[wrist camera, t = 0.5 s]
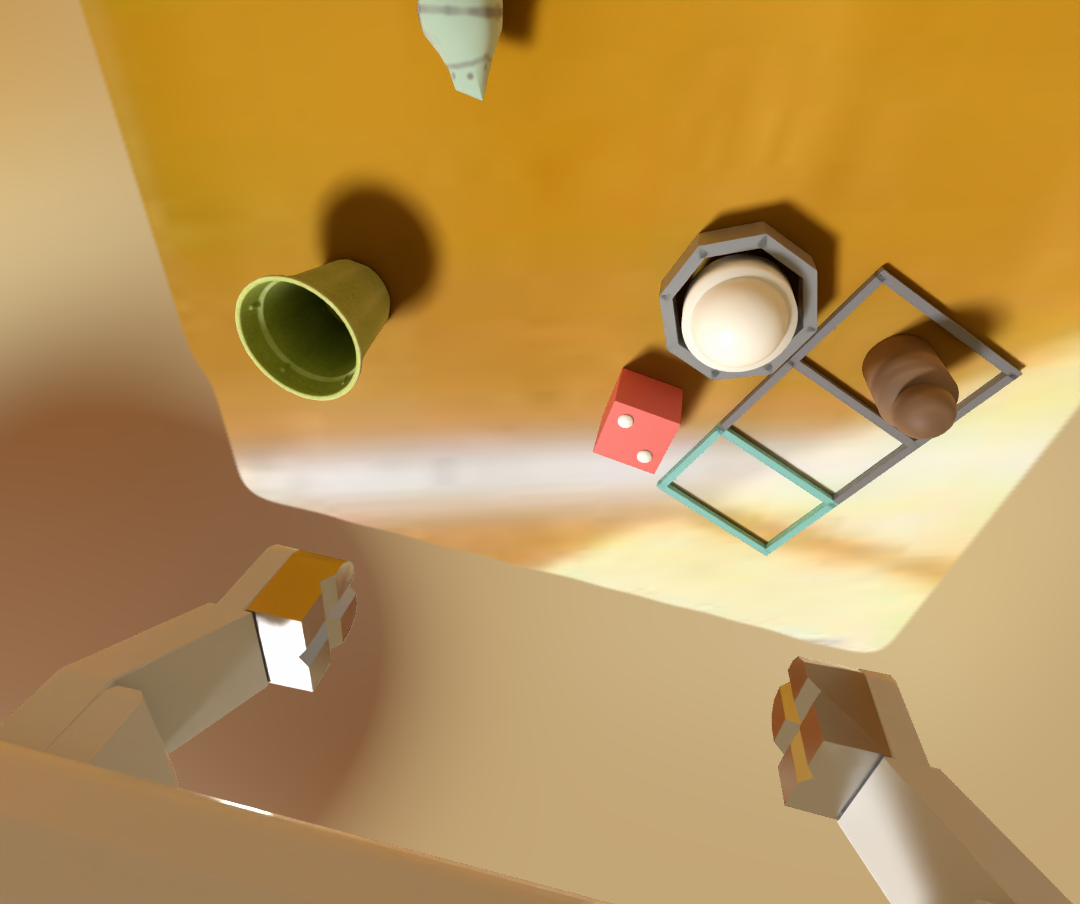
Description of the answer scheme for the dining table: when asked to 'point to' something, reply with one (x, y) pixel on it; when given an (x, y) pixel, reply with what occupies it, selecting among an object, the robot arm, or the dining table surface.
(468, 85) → the pale blue faceted piece
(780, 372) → the frame
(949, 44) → the dining table surface
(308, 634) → the robot arm
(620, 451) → the red die
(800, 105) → the dining table surface
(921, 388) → the pawn
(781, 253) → the dome housing
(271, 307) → the plant pot
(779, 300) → the dome
